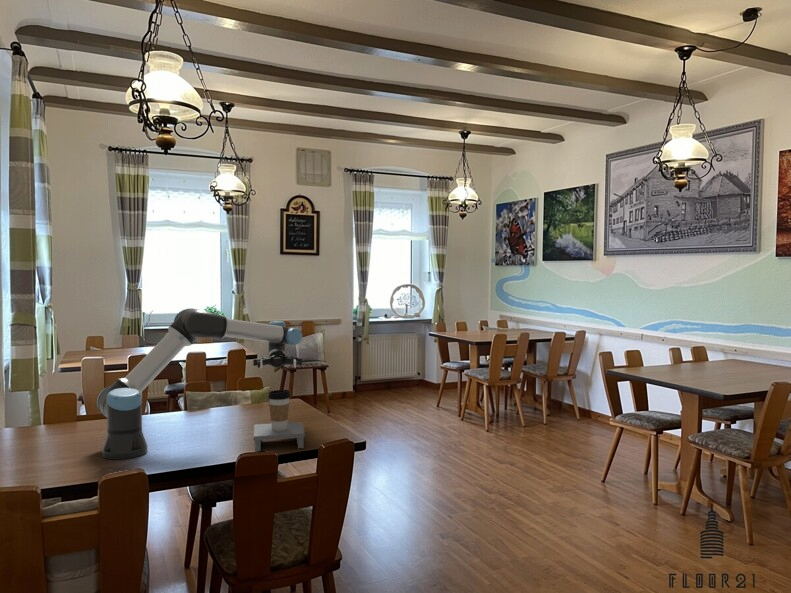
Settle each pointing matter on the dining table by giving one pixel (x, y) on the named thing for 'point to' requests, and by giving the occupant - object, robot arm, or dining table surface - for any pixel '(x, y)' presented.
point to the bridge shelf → (278, 433)
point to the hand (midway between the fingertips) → (278, 364)
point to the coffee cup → (279, 409)
